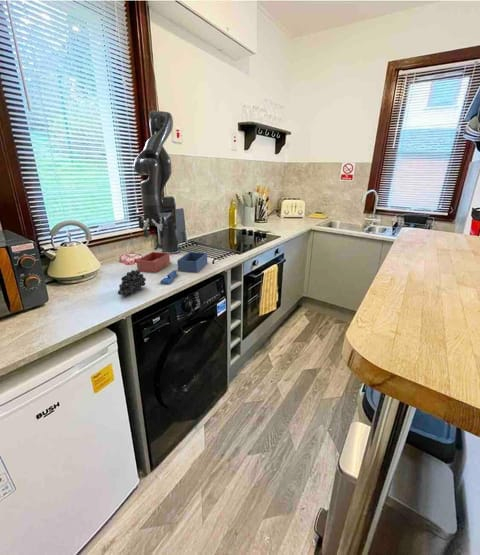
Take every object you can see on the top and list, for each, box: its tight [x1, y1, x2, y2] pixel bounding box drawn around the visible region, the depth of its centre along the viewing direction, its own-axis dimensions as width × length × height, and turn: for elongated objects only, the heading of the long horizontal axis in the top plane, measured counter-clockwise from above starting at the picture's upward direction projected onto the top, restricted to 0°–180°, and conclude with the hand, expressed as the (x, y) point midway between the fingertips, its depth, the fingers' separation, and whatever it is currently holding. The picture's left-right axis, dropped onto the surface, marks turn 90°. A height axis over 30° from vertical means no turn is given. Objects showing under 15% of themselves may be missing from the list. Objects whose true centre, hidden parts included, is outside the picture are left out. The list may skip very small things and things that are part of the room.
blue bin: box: [176, 251, 208, 273], centre depth 143 cm, size 10×15×6 cm
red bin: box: [135, 251, 171, 273], centre depth 143 cm, size 10×15×6 cm
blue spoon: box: [159, 269, 178, 285], centre depth 127 cm, size 11×4×3 cm, turn 166°
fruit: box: [117, 269, 147, 298], centre depth 113 cm, size 9×8×15 cm
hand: (154, 237), depth 135 cm, fingers open, 8 cm apart
